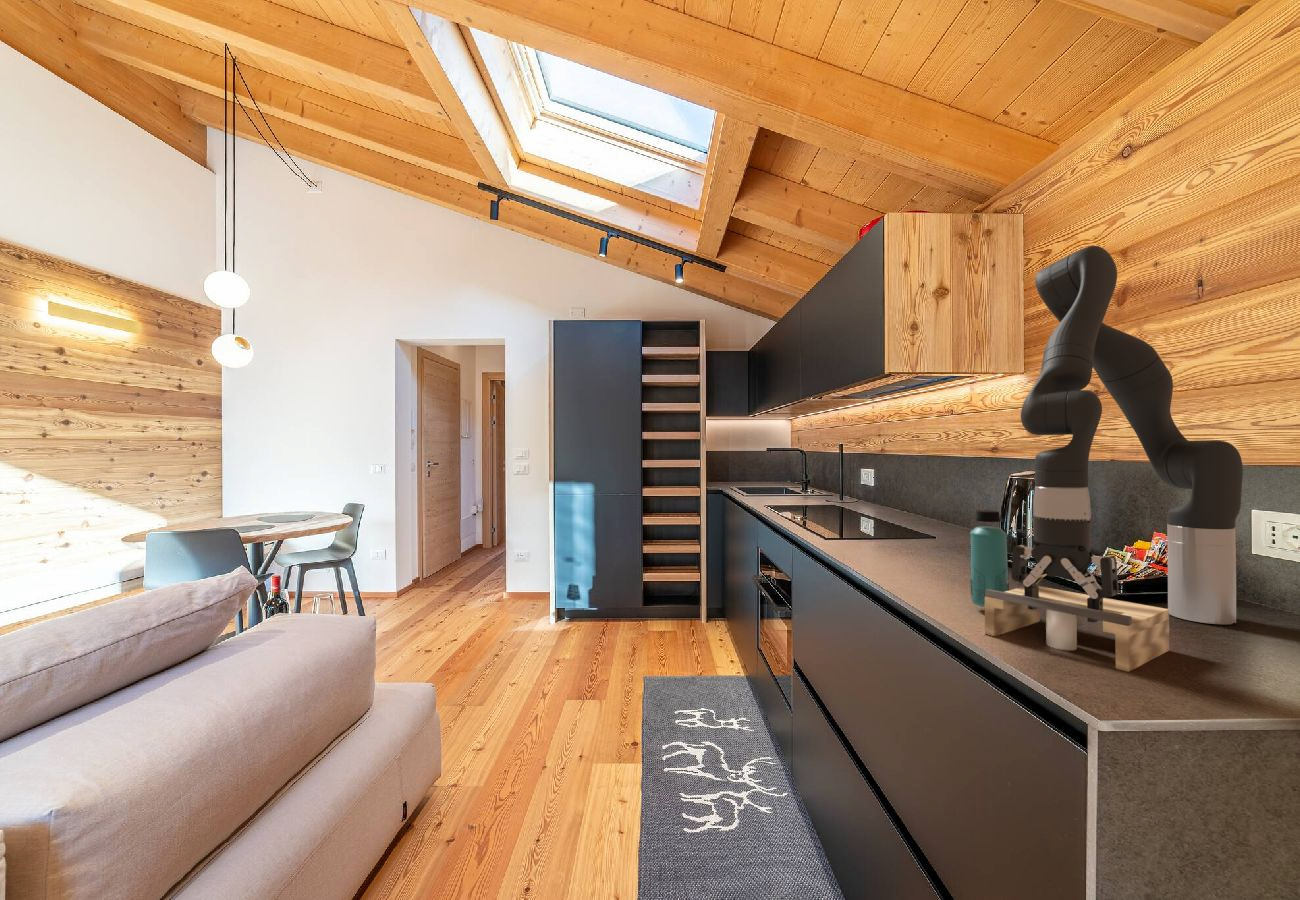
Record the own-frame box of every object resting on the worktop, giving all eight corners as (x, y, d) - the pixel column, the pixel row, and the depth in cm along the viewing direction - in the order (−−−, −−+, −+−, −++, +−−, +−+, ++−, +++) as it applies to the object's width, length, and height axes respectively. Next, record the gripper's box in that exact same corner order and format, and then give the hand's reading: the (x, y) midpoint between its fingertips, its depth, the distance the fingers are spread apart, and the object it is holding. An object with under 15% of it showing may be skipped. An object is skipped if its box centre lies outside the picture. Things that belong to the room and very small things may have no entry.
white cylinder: (1041, 645, 93) (1041, 608, 93) (1053, 640, 96) (1052, 604, 96) (1069, 652, 90) (1069, 614, 90) (1081, 647, 92) (1080, 610, 92)
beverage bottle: (1015, 617, 109) (1013, 512, 109) (976, 615, 110) (975, 511, 110) (1001, 607, 115) (1000, 508, 115) (965, 606, 117) (964, 508, 117)
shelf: (1030, 619, 107) (1030, 578, 107) (1169, 650, 90) (1168, 601, 90) (984, 634, 99) (984, 589, 99) (1128, 671, 82) (1127, 618, 82)
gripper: (1002, 512, 97) (1003, 608, 97) (1104, 520, 85) (1105, 630, 85) (1025, 509, 101) (1026, 602, 101) (1125, 517, 89) (1126, 622, 89)
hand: (1062, 614), depth 93 cm, fingers open, 8 cm apart
